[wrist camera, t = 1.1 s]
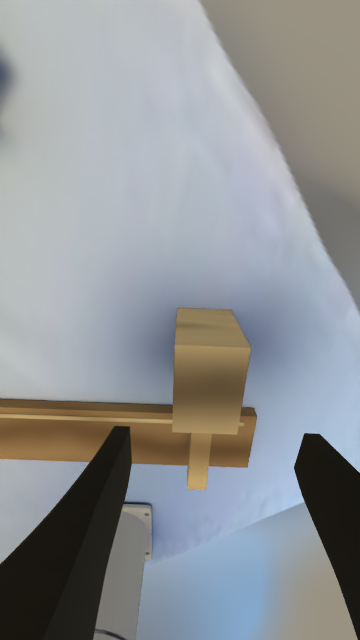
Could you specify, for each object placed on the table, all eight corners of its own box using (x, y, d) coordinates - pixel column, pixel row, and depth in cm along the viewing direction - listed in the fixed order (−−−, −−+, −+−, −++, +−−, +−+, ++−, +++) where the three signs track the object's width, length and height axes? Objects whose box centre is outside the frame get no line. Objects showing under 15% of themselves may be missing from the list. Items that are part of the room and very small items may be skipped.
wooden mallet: (215, 440, 24) (225, 508, 18) (172, 438, 24) (169, 506, 18) (230, 309, 19) (251, 348, 13) (177, 307, 19) (174, 345, 13)
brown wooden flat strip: (244, 458, 24) (247, 468, 23) (-47, 447, 24) (-57, 457, 23) (253, 408, 22) (257, 417, 21) (-67, 396, 22) (-80, 405, 21)
